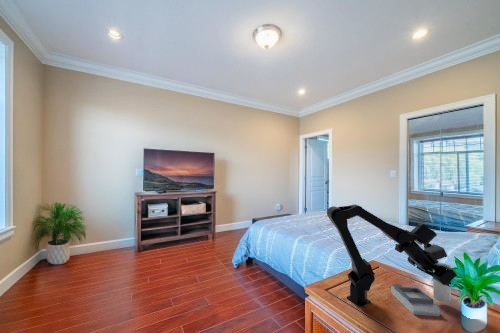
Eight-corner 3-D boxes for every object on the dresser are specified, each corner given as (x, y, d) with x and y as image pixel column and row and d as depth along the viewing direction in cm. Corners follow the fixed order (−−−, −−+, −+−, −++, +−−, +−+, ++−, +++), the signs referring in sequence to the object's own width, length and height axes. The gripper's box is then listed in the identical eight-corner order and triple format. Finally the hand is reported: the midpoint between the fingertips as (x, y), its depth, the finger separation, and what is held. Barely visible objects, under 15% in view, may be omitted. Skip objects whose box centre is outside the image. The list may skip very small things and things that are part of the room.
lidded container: (440, 302, 81) (439, 267, 81) (429, 294, 86) (429, 261, 86) (454, 303, 80) (454, 268, 81) (443, 295, 85) (443, 262, 86)
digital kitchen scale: (413, 314, 77) (413, 302, 78) (391, 292, 91) (391, 283, 91) (439, 316, 77) (439, 304, 77) (413, 294, 91) (413, 284, 91)
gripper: (450, 247, 75) (485, 280, 74) (414, 232, 93) (441, 259, 92) (427, 268, 75) (461, 302, 74) (395, 249, 94) (422, 276, 93)
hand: (445, 282), depth 83 cm, fingers closed on lidded container, 5 cm apart
